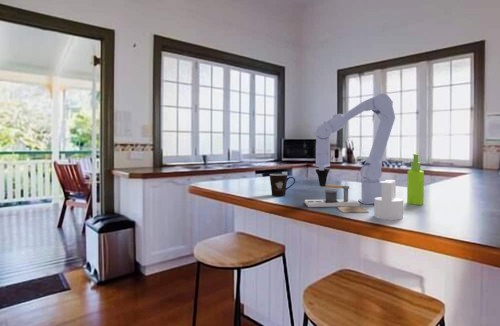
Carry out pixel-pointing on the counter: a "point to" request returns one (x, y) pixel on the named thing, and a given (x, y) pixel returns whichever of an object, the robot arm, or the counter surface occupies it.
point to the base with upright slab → (388, 202)
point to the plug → (331, 196)
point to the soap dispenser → (415, 183)
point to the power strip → (339, 203)
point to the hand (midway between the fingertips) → (322, 186)
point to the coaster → (352, 210)
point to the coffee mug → (279, 184)
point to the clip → (336, 186)
